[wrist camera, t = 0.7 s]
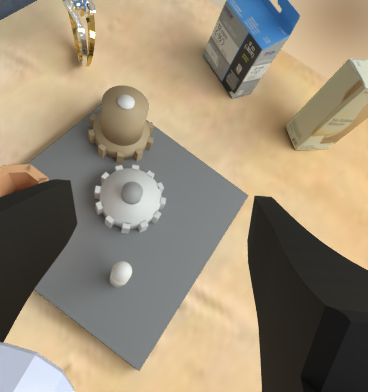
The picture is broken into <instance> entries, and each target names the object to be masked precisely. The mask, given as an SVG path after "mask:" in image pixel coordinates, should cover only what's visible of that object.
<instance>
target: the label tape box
mask: <svg viewBox="0 0 368 392" xmlns="http://www.w3.org/2000/svg"><path fill="white" fill-rule="evenodd" d="M278 4H279V5H280V7H281V8H282V11H281V12H280V13H279V12H278V10H277V9H276V8H275V7H274V5H273V4H272V3H271V2H270V0H227V1H226V2H225V5H224V7H223V9H222V12H221V14H220V16H219V19H218V21H217V23H216V26H215V28H214V30H213V33H212V35H211V37H210V39H209V42H208V44H207V46H206V49H205V51H204V53H203V55H204V57H205V58H206V60H207V61H208V63H209V64H210V65H211V67H212V68H213V70H214V71H215V73H216V74H217V76H218V77H219V79H220V80H221V82H222V83H223V85H224V86H225V88H226V89H227V91H228V92H229V93H230V95H231V96H232V98H235V97H240V96H244V95H248V94H250V93H251V92H252V91H253V89H254V88H255V86H256V85H257V83H258V82H259V80H260V79H261V77H262V76H263V75H264V73H265V72H266V70H267V69H268V67H269V66H270V64H271V63H272V61H273V60H274V58H275V57H276V55H277V54H278V52H279V51H280V49H281V48H282V47H283V45H284V44H285V42H286V41H287V40H288V38H289V36H290V35H291V33H292V31H293V29H294V27H295V25H296V23H297V22H298V20H299V18H300V14H299V13H298V12H297V10H296V9H295V8H294V7H293V5H292V4H291V3H290V2H289V0H278Z"/></svg>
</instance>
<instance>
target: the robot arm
mask: <svg viewBox="0 0 368 392" xmlns="http://www.w3.org/2000/svg"><path fill="white" fill-rule="evenodd" d="M77 224H78V223H77V217H76V211H75V205H74V199H73V193H72V187H71V181H70V180H61V179H54V180H49V181H46V182H42V183H39V184H36V185H33V186H30V187H28V188H25V189H22V190H19V191H16V192H14V193H11V194H8V195H5V196H2V197H0V392H75V390H74V388H73V386H72V384H71V383H70V381H69V380H68V378H67V377H66V375H65V373H64V372H63V370H62V369H61V368H60V367H58V366H57V365H55V364H54V363H52V362H51V361H49V360H48V359H46V358H45V357H43V356H42V355H40V354H39V353H37V352H34V351H31V350H28V349H25V348H21V347H18V346H15V345H11V344H8V343H3V342H4V340H5V338H6V337H7V335H8V333H9V331H10V329H11V327H12V325H13V324H14V322H15V320H16V318H17V316H18V315H19V313H20V311H21V310H22V308H23V306H24V304H25V303H26V301H27V299H28V298H29V296H30V295H31V293H32V292H33V290H34V289H35V287H36V286H37V284H38V283H39V282H40V280H41V279H42V278H43V276H44V275H45V274H46V272H47V271H48V270H49V268H50V267H51V266H52V264H53V263H54V262H55V260H56V259H57V257H58V256H59V255H60V253H61V252H62V251H63V249H64V248H65V246H66V245H67V243H68V242H69V240H70V238H71V236H72V234H73V232H74V230H75V228H76V226H77ZM248 264H249V270H250V276H251V282H252V288H253V293H254V299H255V305H256V311H257V318H258V326H259V341H260V358H261V377H262V392H368V270H366V269H364V268H362V267H361V266H359V265H357V264H355V263H353V262H352V261H350V260H348V259H347V258H345V257H343V256H342V255H340V254H339V253H337V252H336V251H334V250H333V249H331V248H330V247H328V246H327V245H325V244H324V243H323V242H321V241H320V240H319V239H317V238H316V237H315V236H314V235H312V234H311V233H310V232H309V231H307V230H306V229H305V228H304V227H303V226H302V225H300V224H299V223H298V222H297V221H296V220H295V219H294V218H293V217H292V216H291V215H290V214H289V213H288V212H287V211H285V210H284V209H283V208H282V207H281V206H280V205H279V204H278V203H277V202H276V201H275V200H274V199H273V198H272V197H265V196H255V197H254V203H253V210H252V216H251V222H250V228H249V234H248Z"/></svg>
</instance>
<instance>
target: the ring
mask: <svg viewBox="0 0 368 392" xmlns="http://www.w3.org/2000/svg"><path fill="white" fill-rule="evenodd" d="M63 3H64V5H65V7H66V8H67V10H68V13H69V17H70V22H71V26H72V31H73V36H74V41H75V46H76V50H77V58H78V61H79V63H80V65H81V66H90V64H91V61H92V57H93V52H94V42H95V22H94V13H95V5H94V3H93V2H92V1H91V0H63ZM87 7H88V9H89V12H86V10H87ZM78 13H79V14H80V16H81V17H82V16H84V17H87V18H86V20H87V25H88V36H89V39H88V51H87V43H86V37H85V32H84V29H83V26H82V23H81V21H80V19H79V17H78Z"/></svg>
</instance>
